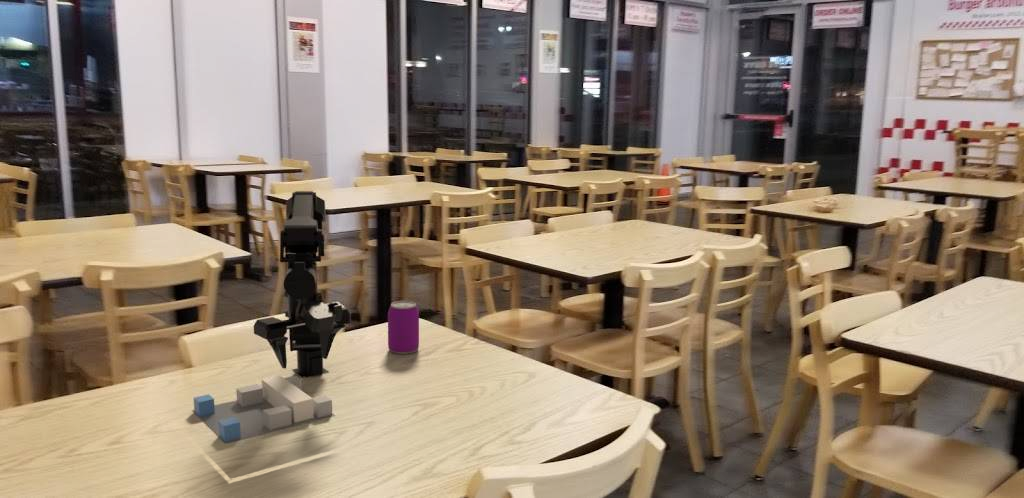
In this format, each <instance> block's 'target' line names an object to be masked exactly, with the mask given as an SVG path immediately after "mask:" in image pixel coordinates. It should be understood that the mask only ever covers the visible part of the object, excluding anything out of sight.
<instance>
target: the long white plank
mask: <svg viewBox="0 0 1024 498" xmlns="http://www.w3.org/2000/svg"><path fill="white" fill-rule="evenodd" d="M284 378H285V377H283V376H281V375H279V374H278V375H275V376H270V377H267V378H261V387H262V388H263V398H264V399H265V400H266V401H268V402H269V403H270V404H271V405H273V406H274V407H278V406H283V405H285V406H287V407H288V408H289V409H291V420H292V421H293V422H294V423H295V422H299V421H303V420H307V419H311V418H314V415H313V398H314V397H311V396H310V395H309V394H307V393H305V392H304V391H303V390H302V391H301V390H300V389H299V388H297V387H296V386H294V385H293V384H291V383H290V382H289V381H287V380H286V379H284Z"/></svg>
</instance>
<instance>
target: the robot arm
mask: <svg viewBox="0 0 1024 498" xmlns="http://www.w3.org/2000/svg"><path fill="white" fill-rule="evenodd" d="M325 201H326V200H325V199H322V198H321V197H320V196H317V192H314V191H313V190H296V191H295V192H294V191H293V192H292V193H291V197H290V198H288V199H287V200H285V217H286V221H284V226H283V229H280V243H279V247H280V248H279V262H280V263H287V264H286V274H285V277H284V280H283V289H284V297H285V298H287V307H288V309H287V310H288V311H285V312H284V317H286V318H287V319H283V320H282V319H279V318H276V317H274V316H271V317H265V318H261V319H257V320H256V321H255V322H254V324H253V334H254V335H255V336H258V337H260V338H262V339H265V340H267V342H268V344H269V345H270V347H271V348H272V350H273V352H274V354H275V356H276V359H277V361H278V363H279V364H280V367H281V368H282V369H287V364H288V363H287V362H288V361H287V360H288V359H287V348H286V347H287V345H286V344H287V341H288V340H289V351H290V352H294V351H295V352H296V361H297V362H296V363H297V364H296V365H297V368H293V369H291V371H292V372H293V373H295V374H296V375H298V377H301V379H302V378H303V379H304V378H309V377H316V376H320V375H323V374H328V373H330V371H329V370H327V369H326V368H324V360H326V359H328V356H329V353H330V351H331V348H332V345H333V343H334V342H333V341H334V340H335V337H336V335H337V334H338V332H340V331H341V330H342V329H344V328H346V325H347V324H351V323H352V314H351V312H350V310H349V309H348V308H345V307H343V306H342V305H343V304H341V303H340V302H339V301H334V302H330V303H324V301H323V295H322V292H321V291H319V290H318V264H317V262H322V257H325V235H324V234H323V225H324V224H323V223H326V222H327V221H326V219H327V218H326V202H325ZM288 330H289V333H288V334H289V337H287V336H286V334H287V332H288Z"/></svg>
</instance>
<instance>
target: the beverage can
mask: <svg viewBox="0 0 1024 498" xmlns="http://www.w3.org/2000/svg"><path fill="white" fill-rule="evenodd" d="M419 346H420V311H419V308H418V306H417V303H416V302H414V301H410V300H398V301H393V302H392V303H391V304H390V306H389V309H388V312H387V348H388V349H389V351H391V353H393V354H396V353H397V355H408V354H407V353H410V354H413V353H415V352H416V351H417V350H418V349H419ZM412 352H413V353H412Z"/></svg>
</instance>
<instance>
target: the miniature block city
mask: <svg viewBox="0 0 1024 498" xmlns="http://www.w3.org/2000/svg"><path fill="white" fill-rule="evenodd" d="M283 378H284V379H286V380H287V381H289V382H290V383H291V384H293V385H294V386H296V387H297V388H299V389H300V390H301V391H303V379H302V378H300V376H297V375H292V376H288V377H283ZM312 398H313V415H314V418H311V419H307V420H303V421H299V422H295V423H294V422H293V421H292V420H291V409H289V408H288V407H287V406H285V405H283V406H278V407H274V406H273V405H271V404H270V403H269V402H268V401H266V400H265V399H264V398H263V388H262V385H259V384H258V383H255V384H249V385H246V386H242V387H237V388H236V400H233V401H228V402H223V403H218V404H215V398H214V397H213V396H212V395H210V394H203V395H200V396H199V395H198V396H196V397H193V406H194V407H193V408H194V409H192V410H191V412H192V413H194V415H195V416H196V417H198V418H199V419H200V420H201V421H202V423H204V424H205V425H206V427H208V428H209V429H210V430H211V431H212V432H213V433H214V434H215V435H216V436H217V437H218V438H219V439H220V441H222V442H223V443H224V444H225V445H227V444H230V443H234V442H239V441H242V440H245V439H250V438H253V437H254V438H255V437H258V436H262V435H266V434H271V433H273V432H276V431H282V430H286V429H290V428H293V427H297V426H301V425H305V424H308V423H312V422H316V421H321V420H324V419H328V418H333V417H336V414H334V413H333V399H331V398H330V397H329V396H327V395H322V396H321V395H320V396H317V397H312Z"/></svg>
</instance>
